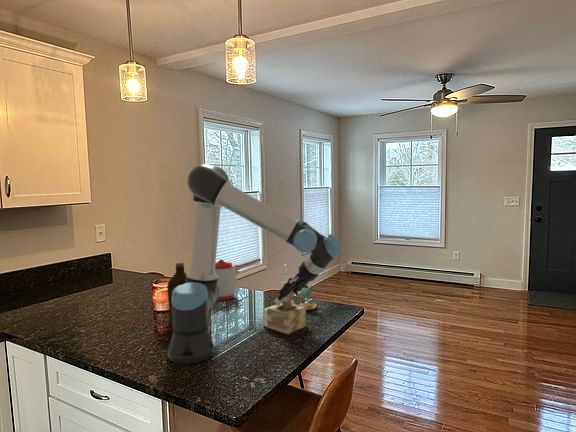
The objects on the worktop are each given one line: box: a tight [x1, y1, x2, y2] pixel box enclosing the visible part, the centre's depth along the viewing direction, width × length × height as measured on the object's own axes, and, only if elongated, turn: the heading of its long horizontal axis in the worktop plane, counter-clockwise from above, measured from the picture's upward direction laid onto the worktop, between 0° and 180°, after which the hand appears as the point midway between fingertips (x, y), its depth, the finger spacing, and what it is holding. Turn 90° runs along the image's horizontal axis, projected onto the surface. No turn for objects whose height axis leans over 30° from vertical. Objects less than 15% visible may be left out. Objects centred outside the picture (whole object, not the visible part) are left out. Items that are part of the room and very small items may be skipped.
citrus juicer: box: [215, 259, 240, 302], centre depth 197 cm, size 16×17×20 cm
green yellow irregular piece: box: [296, 284, 318, 311], centre depth 179 cm, size 10×18×15 cm, turn 138°
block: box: [266, 303, 307, 335], centre depth 156 cm, size 11×11×8 cm
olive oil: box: [166, 262, 187, 326], centre depth 162 cm, size 11×11×25 cm
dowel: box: [281, 280, 293, 311], centre depth 155 cm, size 4×4×14 cm
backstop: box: [263, 300, 295, 328], centre depth 163 cm, size 16×2×7 cm, turn 139°
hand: (280, 301), depth 158 cm, fingers closed on dowel, 4 cm apart
